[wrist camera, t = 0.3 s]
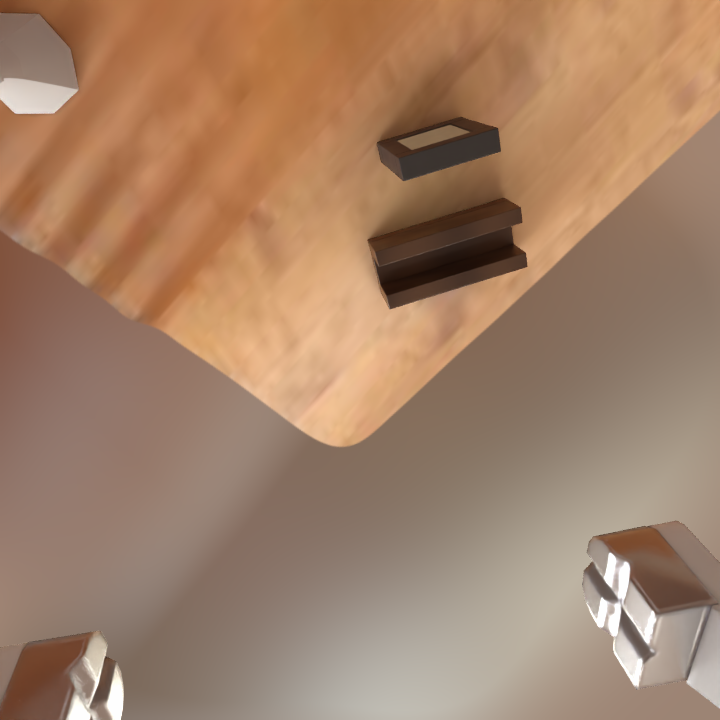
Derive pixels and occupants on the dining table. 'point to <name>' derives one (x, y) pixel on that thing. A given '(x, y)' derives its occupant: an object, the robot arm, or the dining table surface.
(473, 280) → the holder
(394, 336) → the dining table surface
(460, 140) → the frame
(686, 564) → the robot arm
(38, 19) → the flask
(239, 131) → the dining table surface
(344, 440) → the dining table surface
